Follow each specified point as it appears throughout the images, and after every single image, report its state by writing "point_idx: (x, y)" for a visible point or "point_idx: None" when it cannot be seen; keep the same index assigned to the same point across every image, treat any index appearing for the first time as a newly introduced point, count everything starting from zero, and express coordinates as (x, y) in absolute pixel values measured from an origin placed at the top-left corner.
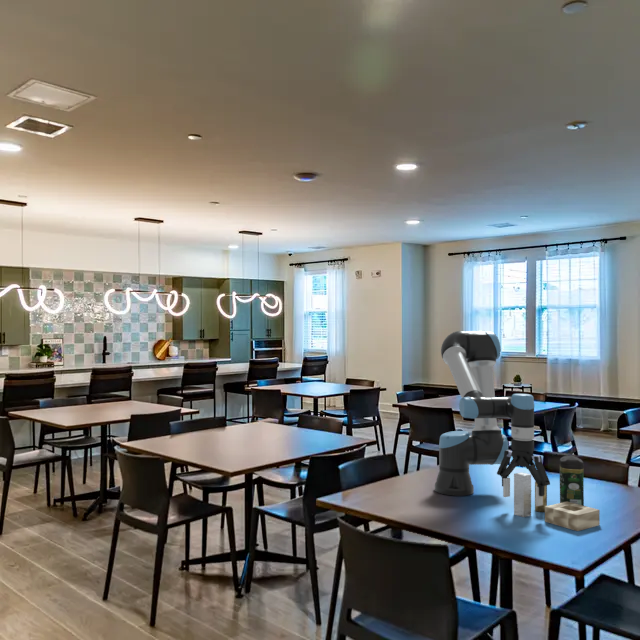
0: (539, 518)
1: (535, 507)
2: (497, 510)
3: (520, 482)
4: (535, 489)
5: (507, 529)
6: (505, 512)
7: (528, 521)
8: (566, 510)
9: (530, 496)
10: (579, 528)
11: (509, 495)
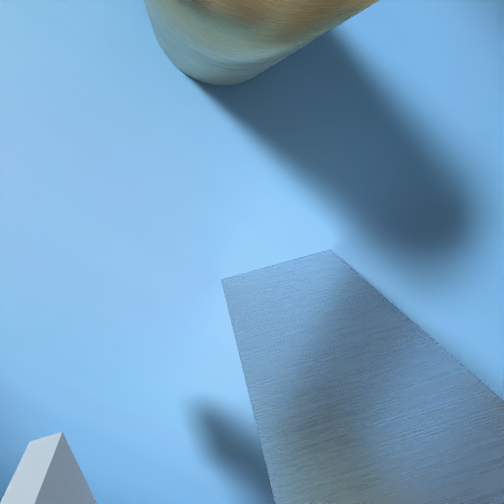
0: (426, 232)
1: (206, 78)
2: (85, 440)
3: None
4: (233, 28)
5: None
6: (165, 407)
7: None
8: None
9: (439, 358)
10: None
11: (62, 451)
